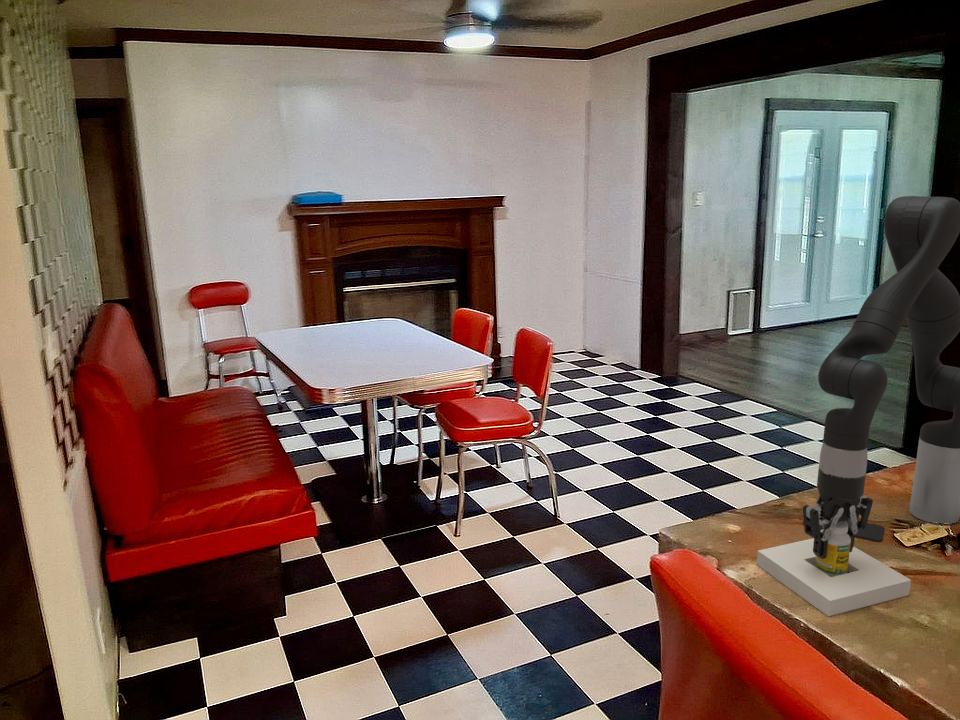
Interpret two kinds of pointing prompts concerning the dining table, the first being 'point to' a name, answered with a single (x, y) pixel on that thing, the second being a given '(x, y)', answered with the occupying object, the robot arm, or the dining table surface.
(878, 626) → the dining table surface
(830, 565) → the supplement bottle
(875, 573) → the socket block
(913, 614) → the dining table surface
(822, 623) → the dining table surface
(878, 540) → the phone
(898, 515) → the dining table surface
